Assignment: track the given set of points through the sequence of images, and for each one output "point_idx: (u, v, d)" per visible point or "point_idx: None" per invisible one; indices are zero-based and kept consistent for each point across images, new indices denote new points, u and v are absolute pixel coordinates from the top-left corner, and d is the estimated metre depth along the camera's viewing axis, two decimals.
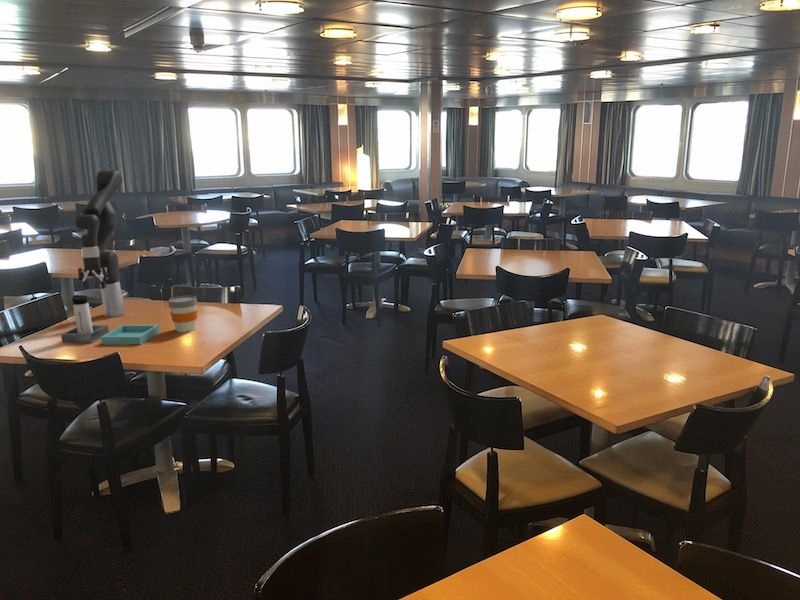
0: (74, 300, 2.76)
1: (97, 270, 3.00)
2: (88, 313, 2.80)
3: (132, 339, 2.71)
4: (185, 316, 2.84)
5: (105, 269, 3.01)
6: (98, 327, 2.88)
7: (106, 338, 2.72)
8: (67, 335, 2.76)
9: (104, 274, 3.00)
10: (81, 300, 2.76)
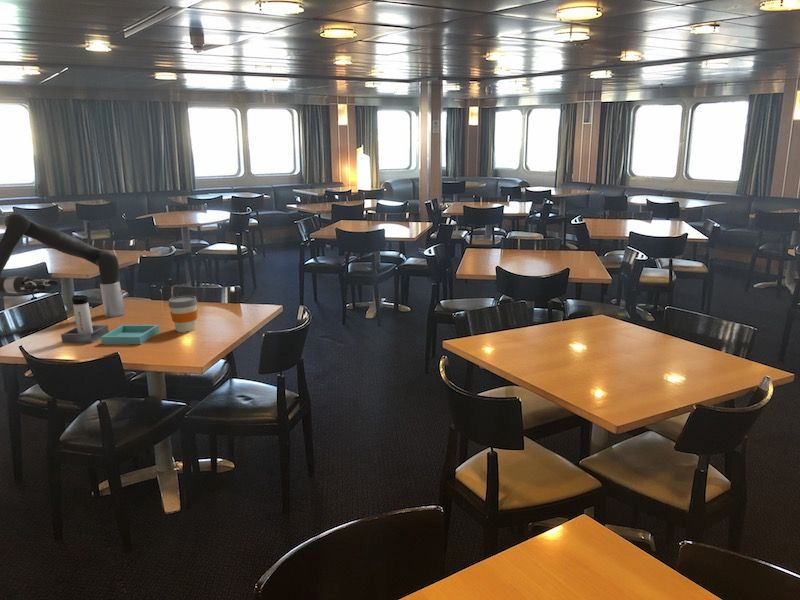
0: (74, 300, 2.76)
1: None
2: (88, 313, 2.80)
3: (132, 339, 2.71)
4: (185, 316, 2.84)
5: (21, 289, 2.73)
6: (98, 327, 2.88)
7: (106, 338, 2.72)
8: (67, 335, 2.76)
9: None
10: (81, 300, 2.76)
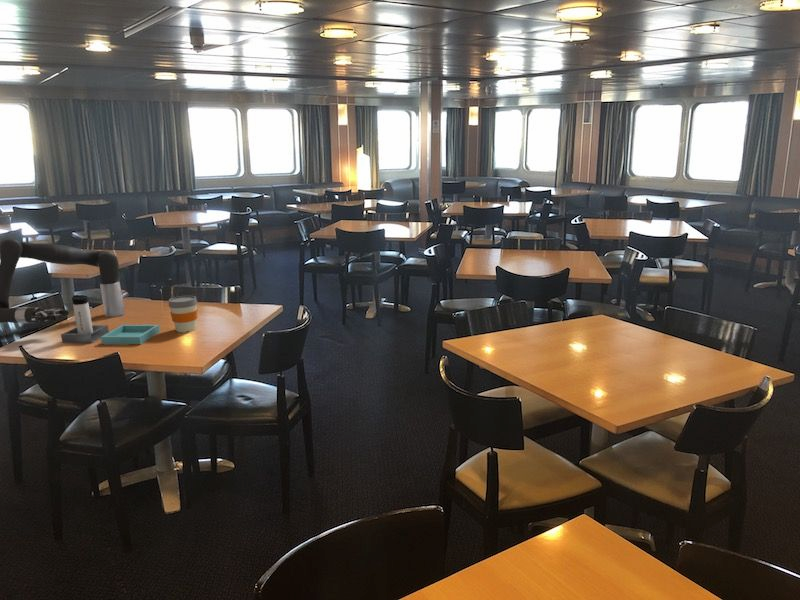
0: (74, 300, 2.76)
1: None
2: (88, 313, 2.80)
3: (132, 339, 2.71)
4: (185, 316, 2.84)
5: (32, 320, 2.76)
6: (98, 327, 2.88)
7: (106, 338, 2.72)
8: (67, 335, 2.76)
9: None
10: (81, 300, 2.76)
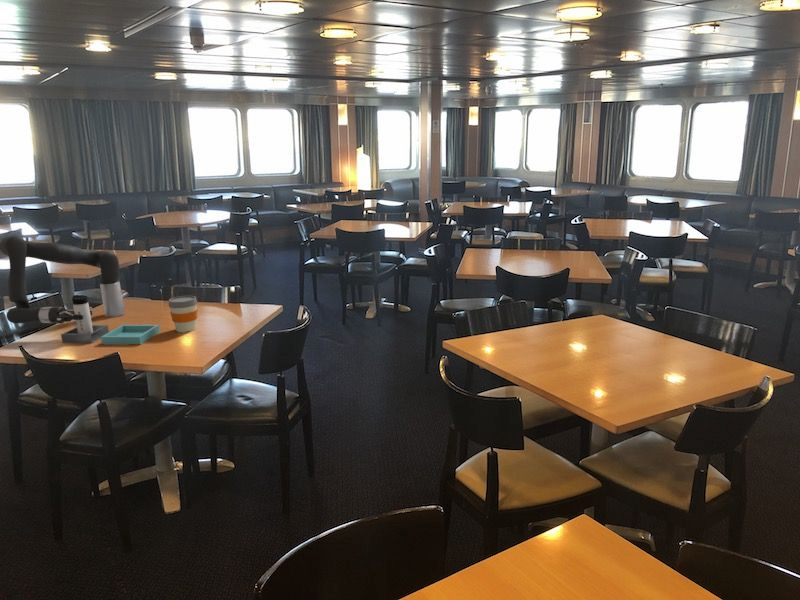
0: (74, 300, 2.76)
1: None
2: (88, 313, 2.80)
3: (132, 339, 2.71)
4: (185, 316, 2.84)
5: (58, 320, 2.75)
6: (98, 327, 2.88)
7: (106, 338, 2.72)
8: (67, 335, 2.76)
9: None
10: (81, 300, 2.76)
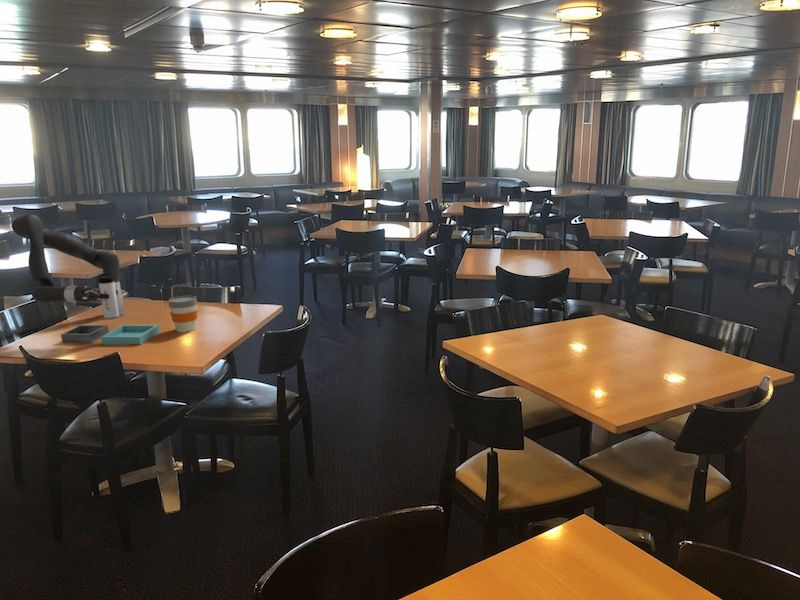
0: (100, 279, 2.71)
1: None
2: (114, 292, 2.75)
3: (132, 339, 2.71)
4: (185, 316, 2.84)
5: (84, 298, 2.71)
6: (98, 327, 2.88)
7: (106, 338, 2.72)
8: (67, 335, 2.76)
9: None
10: (107, 279, 2.72)
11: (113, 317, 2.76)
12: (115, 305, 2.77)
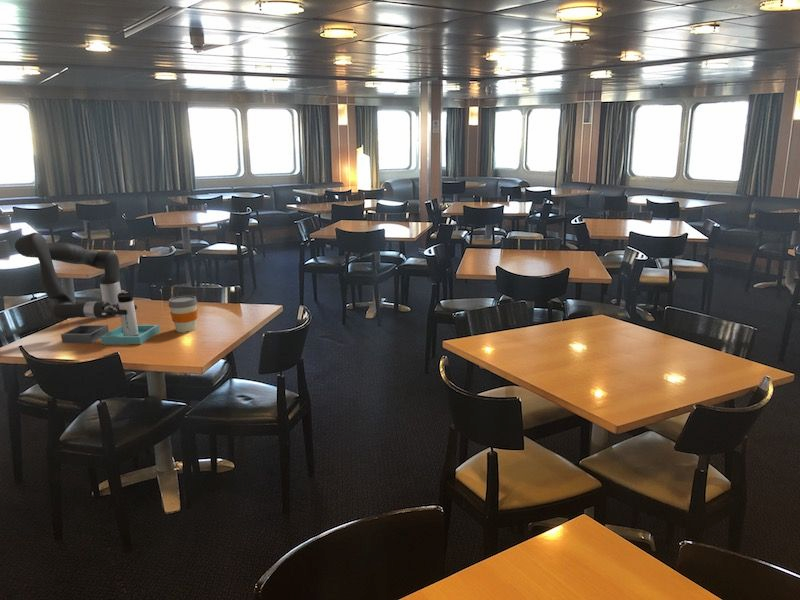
0: (120, 298, 2.74)
1: None
2: (133, 311, 2.78)
3: (132, 339, 2.71)
4: (185, 316, 2.84)
5: (103, 314, 2.72)
6: (98, 327, 2.88)
7: (106, 338, 2.72)
8: (67, 335, 2.76)
9: None
10: (127, 298, 2.74)
11: (133, 335, 2.78)
12: (135, 323, 2.79)
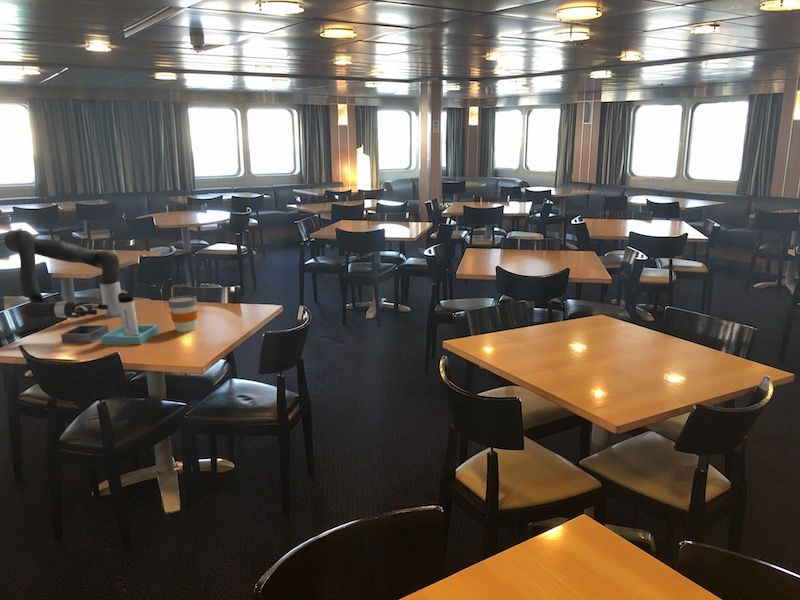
0: (120, 298, 2.73)
1: None
2: (134, 311, 2.77)
3: (132, 339, 2.71)
4: (185, 316, 2.84)
5: (73, 314, 2.74)
6: (98, 327, 2.88)
7: (106, 338, 2.72)
8: (67, 335, 2.76)
9: None
10: (127, 298, 2.74)
11: None
12: (135, 324, 2.79)
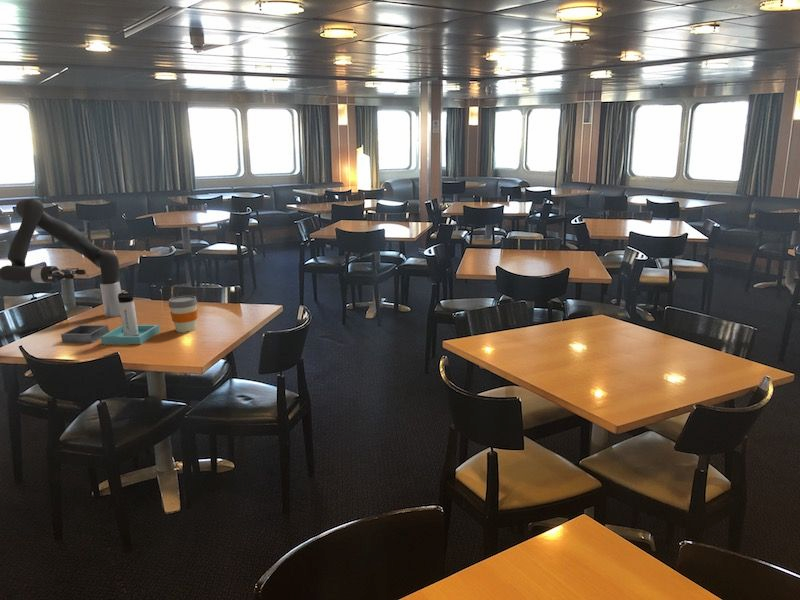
0: (120, 298, 2.73)
1: None
2: (134, 311, 2.77)
3: (132, 339, 2.71)
4: (185, 316, 2.84)
5: (49, 278, 2.70)
6: (98, 327, 2.88)
7: (106, 338, 2.72)
8: (67, 335, 2.76)
9: (55, 280, 2.70)
10: (127, 298, 2.74)
11: None
12: (135, 324, 2.79)
